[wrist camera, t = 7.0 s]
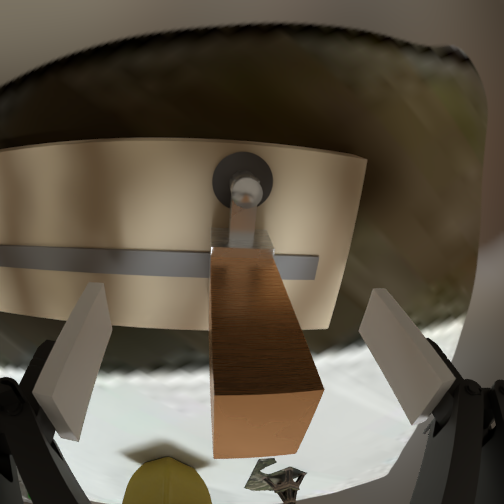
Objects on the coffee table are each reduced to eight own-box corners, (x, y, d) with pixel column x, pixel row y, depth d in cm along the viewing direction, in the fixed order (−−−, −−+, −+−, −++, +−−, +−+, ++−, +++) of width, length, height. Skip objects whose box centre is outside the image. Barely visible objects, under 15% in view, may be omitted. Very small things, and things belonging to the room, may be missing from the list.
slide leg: (208, 304, 19) (213, 463, 9) (214, 168, 15) (218, 271, 6) (257, 305, 19) (293, 458, 10) (273, 172, 16) (363, 273, 6)
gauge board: (-35, 290, 18) (-60, 318, 14) (-62, 161, 13) (-97, 177, 9) (319, 312, 23) (339, 351, 19) (353, 154, 18) (389, 168, 14)
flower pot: (123, 458, 31) (117, 514, 23) (166, 445, 30) (165, 511, 22) (169, 479, 35) (169, 530, 27) (213, 468, 34) (218, 524, 26)
